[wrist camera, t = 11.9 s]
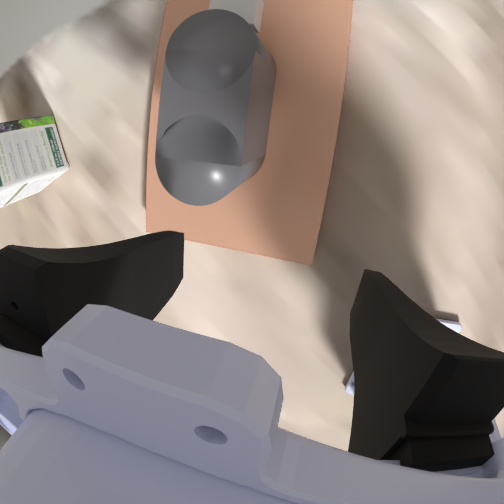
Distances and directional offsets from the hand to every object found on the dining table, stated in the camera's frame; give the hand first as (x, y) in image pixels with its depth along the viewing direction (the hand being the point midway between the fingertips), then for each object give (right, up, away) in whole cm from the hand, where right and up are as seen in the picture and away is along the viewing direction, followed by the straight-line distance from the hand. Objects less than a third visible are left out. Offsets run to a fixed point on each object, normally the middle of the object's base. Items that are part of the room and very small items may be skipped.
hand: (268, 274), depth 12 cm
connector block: (-1, +9, +5) cm, 11 cm away
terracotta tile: (-1, +10, +7) cm, 12 cm away
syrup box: (-20, +10, +11) cm, 25 cm away
